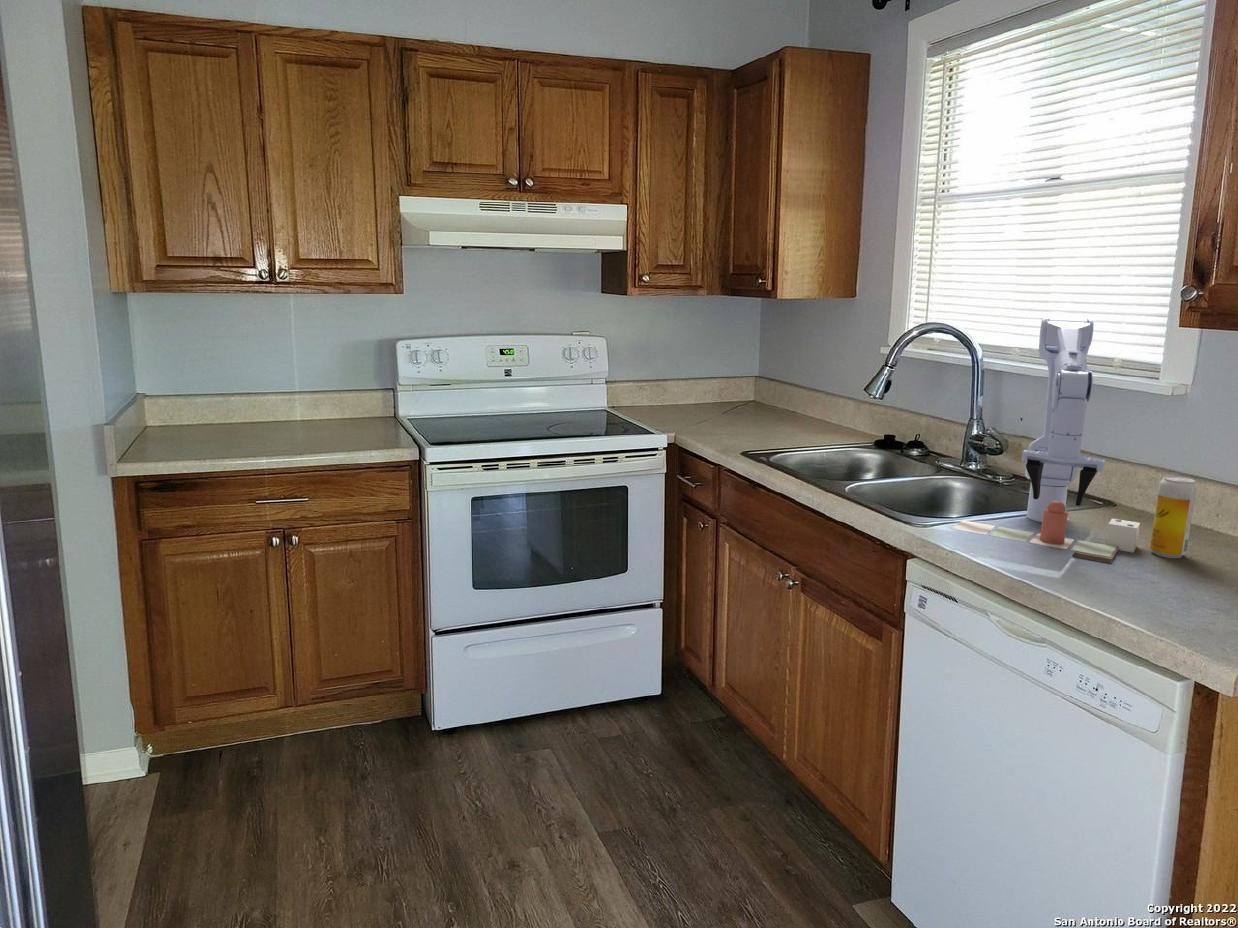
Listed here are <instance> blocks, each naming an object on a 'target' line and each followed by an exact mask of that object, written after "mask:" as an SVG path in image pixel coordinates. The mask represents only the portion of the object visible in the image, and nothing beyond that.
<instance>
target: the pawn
mask: <svg viewBox="0 0 1238 928" xmlns="http://www.w3.org/2000/svg"><path fill="white" fill-rule="evenodd" d="M1068 518H1069V512H1068V511H1067V510H1066V505H1064V504H1063V503H1062V502H1061V501H1057V500H1055V501H1052V502H1050V503H1049V505H1048V507H1047V509H1044V512H1043V519H1042V522H1041V527H1040V540H1041V541H1043V542H1046V543H1050V544H1063V543H1064V540H1065V538H1066V532H1067V526H1068V525H1067V524H1068V520H1067V519H1068Z"/></svg>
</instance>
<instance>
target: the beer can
mask: <svg viewBox="0 0 1238 928" xmlns="http://www.w3.org/2000/svg"><path fill="white" fill-rule="evenodd" d="M1158 487H1159V488H1158V493H1157V499H1156V507H1155V512H1154V513H1155V514H1154V518H1153V525H1152V532H1151V540H1150V545H1149V549H1150V550H1151V551H1152V553H1153V554H1154V555H1155V556H1159V557H1163V558H1169V559H1181V558H1183V556H1185V555H1186V554H1187V552H1188V551H1187V549H1188V544H1189V539H1190V538H1189V536H1190V531H1191V525H1192V519H1193V513H1194V506H1195V500H1196V495H1197V494H1196V493H1197V488H1198V486H1197V484H1196V480H1194V479H1192V478H1190V477H1184V476H1179V475H1178V476H1176V475H1166V476H1163V477H1162V479H1161V481H1160V482H1159V485H1158Z"/></svg>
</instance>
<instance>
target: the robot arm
mask: <svg viewBox="0 0 1238 928" xmlns="http://www.w3.org/2000/svg"><path fill="white" fill-rule="evenodd" d="M1040 323H1041V324H1040V331H1039V342H1038V353H1039V354H1038V355H1039V356H1038V357H1039V358H1040V359H1042V360H1044V361H1045V362H1047V368H1048V377H1047V379H1048V380H1047V390H1046V392H1047V393H1046V403H1045V410H1044V411H1045V413H1044V423H1043V435H1042V436H1040V437H1038V438H1037V439H1035V440H1033V441H1031V442H1030V444H1029V445H1028V448H1027V449H1024V450H1022V451H1021V458H1020V459H1021V461H1022V462H1025V469H1024V475H1025V477H1026V478H1027V480H1030V486H1029V492H1028V493H1029V494H1028V503H1027V510H1026V518H1028V520H1031V521H1035V522H1040V523H1042V519H1043V512H1044V509H1047V507H1048V505H1049V503H1050V502H1052V501H1055V500H1057V501H1061V502H1062V503H1063V504H1064V505H1065V506H1066V504H1067V503H1066V502H1067V495H1068V487H1070V484H1073V483H1074V482H1075V481H1076V480H1077V477H1078V472H1079V483H1078V490H1077V494H1076V499H1075V500H1076V501H1075V506H1078V507H1080V506H1081V505H1082V503H1083V501H1084V500H1083V499H1084V496H1085V495H1086V491H1087V489H1088V487H1089V486H1090V484H1091V482H1092V481H1093V479H1094V477H1095V476H1096V475H1097V474H1098V472H1103V471H1104V470H1105V465H1106V459H1101V458H1100V459H1099V458H1094V457H1089V456H1083V455H1081V447H1082V441H1083V434H1084V425H1085V418H1086V411H1087V403H1088V402H1090V400H1091V397H1092V393H1093V387H1094V385H1093V384H1094V376H1093V371H1091V370H1088V362H1087V357H1086V356H1087V355H1088V352H1089V349H1090V347H1091V345H1092V341H1093V336H1094V321H1093V320H1092V318H1091V317H1088V318H1075V317H1073V318H1072V317H1051V316H1050V317H1049V316H1044V317H1043V318H1042V319H1041V322H1040ZM1079 469H1081V470H1080V471H1079ZM1069 519H1070V518H1069V517H1068V519H1067V521H1069Z"/></svg>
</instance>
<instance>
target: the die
mask: <svg viewBox="0 0 1238 928" xmlns="http://www.w3.org/2000/svg"><path fill="white" fill-rule="evenodd" d="M1140 525H1141V522H1136V521H1129V520H1124V519H1118V518H1111V520H1109V522H1108V524H1107V530H1106V538H1105V544H1104V545H1110V546H1116V547H1119V550H1118V551H1123V552H1128V553H1134V552H1135V551H1136V549H1137V546H1138V540H1139V539H1138V538H1139V534H1140Z"/></svg>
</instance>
